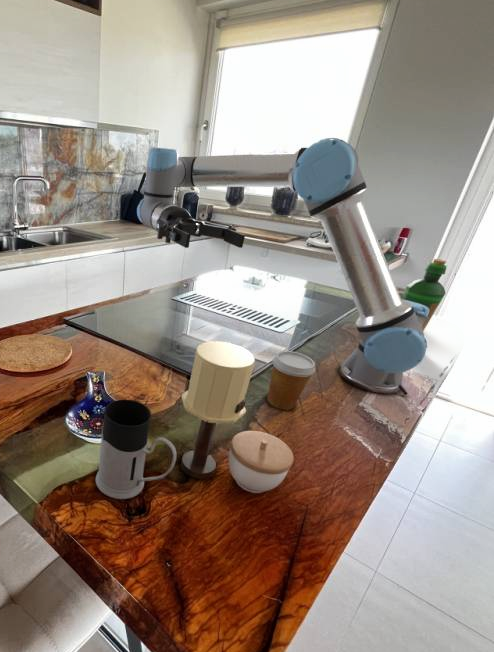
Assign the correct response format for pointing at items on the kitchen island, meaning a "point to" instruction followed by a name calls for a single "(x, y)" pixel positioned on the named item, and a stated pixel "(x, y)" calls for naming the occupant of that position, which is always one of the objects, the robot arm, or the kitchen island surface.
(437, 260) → the bottle
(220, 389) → the hat
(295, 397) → the disposable coffee cup
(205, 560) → the kitchen island surface
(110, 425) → the glass holder
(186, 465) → the stand
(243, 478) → the trinket box
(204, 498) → the kitchen island surface
